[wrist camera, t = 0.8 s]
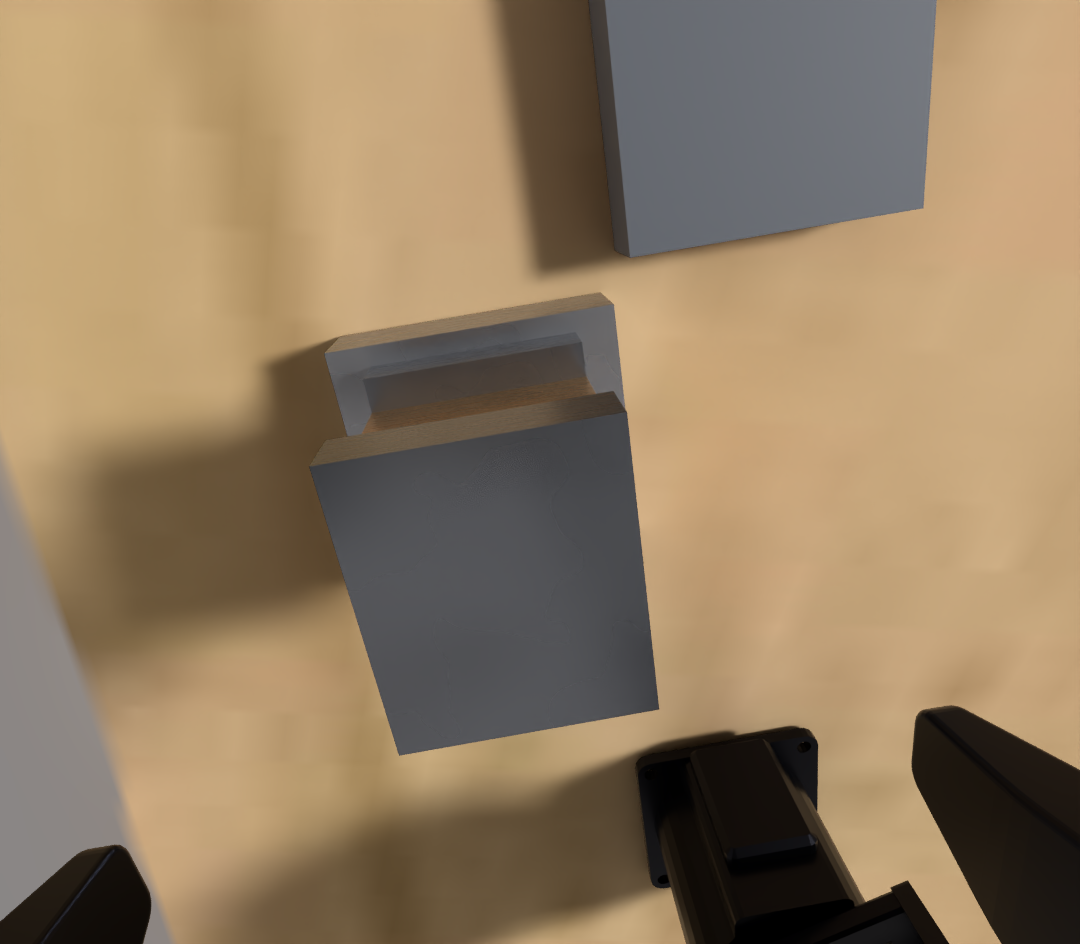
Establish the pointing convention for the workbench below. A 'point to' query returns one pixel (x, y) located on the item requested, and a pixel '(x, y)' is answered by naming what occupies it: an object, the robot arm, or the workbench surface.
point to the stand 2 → (759, 115)
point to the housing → (492, 544)
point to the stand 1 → (476, 345)
